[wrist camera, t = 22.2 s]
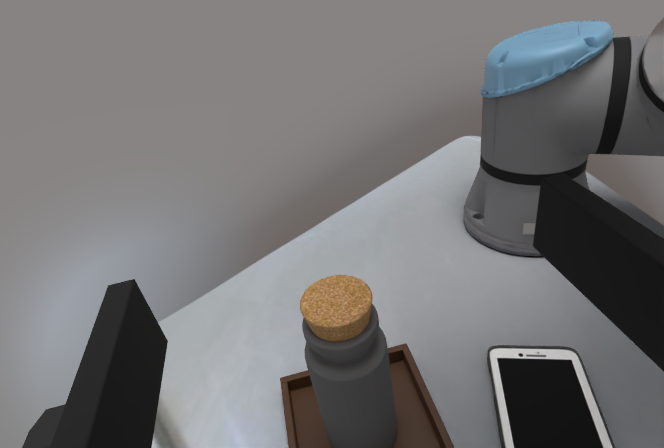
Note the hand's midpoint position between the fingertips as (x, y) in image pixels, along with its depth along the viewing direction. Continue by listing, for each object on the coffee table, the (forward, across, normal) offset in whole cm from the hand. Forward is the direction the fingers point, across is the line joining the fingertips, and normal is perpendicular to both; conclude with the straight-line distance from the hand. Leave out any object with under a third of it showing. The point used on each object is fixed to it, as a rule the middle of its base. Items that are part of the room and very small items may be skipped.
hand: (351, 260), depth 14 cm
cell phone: (+6, +14, -26) cm, 30 cm away
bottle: (+10, 0, -26) cm, 27 cm away
